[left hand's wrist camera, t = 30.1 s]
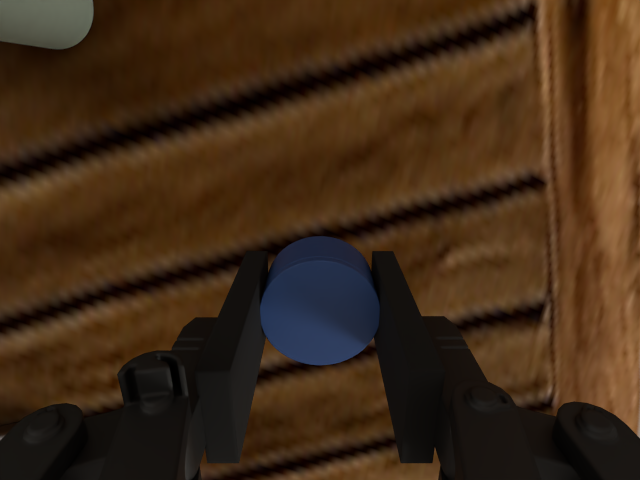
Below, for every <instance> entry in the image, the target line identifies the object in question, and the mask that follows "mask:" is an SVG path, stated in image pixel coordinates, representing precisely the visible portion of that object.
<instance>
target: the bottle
mask: <svg viewBox="0 0 640 480" xmlns="http://www.w3.org/2000/svg"><path fill="white" fill-rule="evenodd" d="M92 20H93V0H0V41H3V42H10V43H17V44H23V45H30V46H37V47H43V48H50V49H66V48H70V47H72V46H74V45H76V44H78V43H79V42H80V41H82V40H83V38H84V37H85V36H86V35H87V33H88V32H89V29H90V27H91V24H92Z"/></svg>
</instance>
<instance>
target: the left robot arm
mask: <svg viewBox="0 0 640 480" xmlns="http://www.w3.org/2000/svg"><path fill="white" fill-rule="evenodd" d="M371 273H372V277H373V280H374V284H375V288H376V291H377V295H378V299H379V303H380V314H379V326H378V329H377V332H376V333H375V335H374V340H375V345H376V349H377V354H378V359H379V364H380V368H381V373H382V378H383V382H384V387H385V392H386V396H387V401H388V406H389V410H390V415H391V420H392V424H393V429H394V434H395V438H396V443H397V448H398V452H399V457H400V462H401V463H432V462H433V455H434V448H436V452H437V455H438V458H439V461H440V464H441V466H440V472H439V478H438V480H640V438H639V437H638V436H637V435H636V434H635V433H634V432H633V431H632V430H631V429H630V428H629V427H628V426H627V425H626V424H625V423H624V422H623V421H621V420H620V419H619V418H618V417H617V416H615V415H614V414H612V413H610V412H608V411H606V410H604V409H603V408H601V407H598V406H594V405H591V404H588V403H582V402H570V403H565V404H563V405H562V406H561V407H560V408H559V409H558V412H557V415H556V416H551V415H547V414H543V413H539V412H535V411H530V410H527V409H524V408H521V407H518V406H516V405H515V403H514V401H513V400H512V398H511V397H510V395H508V394H507V393H506V392H505V391H504V390H503V389H501V388H500V387H498V386H496V385H494V384H492V383H490V382H488V381H487V379H486V377H485V376H484V374H483V372H482V370H481V369H480V367H479V365H478V363H477V362H476V360H475V358H474V356H473V354H472V353H471V351H470V349H468V346H467V344H466V342H465V340H463V337H462V335H461V333H460V332H459V330H458V328H457V326H456V325H454V324H453V323H452V322H451V321H449V320H448V319H447V318H445V317H444V316H421V314H420V312H419V310H418V307H417V305H416V303H415V300H414V298H413V296H412V294H411V291H410V289H409V287H408V285H407V282H406V280H405V278H404V275H403V273H402V271H401V269H400V266H399V264H398V262H397V259H396V257H395V255H394V253H393V251H372V269H371ZM267 277H268V255H267V251H247V252H246V254H245V257H244V259H243V261H242V263H241V266H240V268H239V270H238V273H237V275H236V277H235V279H234V282H233V284H232V286H231V288H230V291H229V293H228V295H227V298H226V300H225V302H224V304H223V307H222V309H221V311H220V313H219V316H218V318H195V319H193V320H192V321H191V322H190V323H188V324H187V325H186V326H185V327H183V329H182V331H181V333H180V334H179V336H178V338H177V341H176V342H175V343H174V345H173V347H172V351H153V352H148V353H144V354H142V355H140V356H138V357H135V358H133V359H132V360H130V361H129V362H128V363H126V364H125V365H124V366H123V367H122V368H121V370H120V371H119V373H118V374H117V375H118V379H119V383H120V388H121V392H122V396H123V400H124V407H123V408H121V409H118V410H115V411H112V412H108V413H103V414H99V415H95V416H91V417H87V418H84V417H83V413H82V410H80V409H79V408H78V407H77V406H76V405H72V404H67V403H64V404H54V405H51V406H48V407H45V408H42V409H39V410H37V411H35V412H33V413H31V414H30V415H28V416H26V417H24V418H23V419H22V420H21V421H20V422H18V423H12V424H7V425H3V426H0V480H202V479H201V472H200V466H199V465H200V462H201V459H202V456H203V453H204V450H206V457H207V463H239V461H240V456H241V451H242V447H243V442H244V437H245V433H246V428H247V423H248V418H249V414H250V409H251V404H252V400H253V395H254V390H255V386H256V381H257V376H258V372H259V367H260V362H261V358H262V353H263V348H264V344H265V339H266V335H265V333H264V331H263V329H262V326H261V317H260V303H261V299H262V295H263V291H264V288H265V284H266V280H267Z"/></svg>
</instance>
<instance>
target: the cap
mask: <svg viewBox="0 0 640 480" xmlns="http://www.w3.org/2000/svg"><path fill="white" fill-rule="evenodd" d="M379 314H380V303H379V299H378V295H377V291H376V288H375V284H374V280H373V277H372V273H371V270H370V267H369V265H368V263H367V261H366V260H365V258H364V257H363V256H362V254H361V253H360V252H359V251H358V250H357V249H355V248H354V247H353V246H351V245H350V244H348V243H346V242H344V241H342V240H339V239H336V238H332V237H325V236H316V237H308V238H304V239H301V240H298V241H296V242H294V243H292V244H290V245H289V246H287V247H286V248H285V249H283V250H282V251H281V252H280V253H279V254H278V256H277V257H276V258H275V260H274V261H273V263H272V265H271V267H270V270H269V273H268V277H267V280H266V284H265V288H264V291H263V295H262V299H261V303H260V317H261V326H262V329H263V331H264V333H265V335H266V337H267V339H268V340H269V341H270V343H271V344H272V345H273V346H274V347H275V348H276V349H277V350H278V351H280V352H281V353H282V354H284V355H285V356H287V357H289V358H291V359H293V360H296V361H299V362H302V363H306V364H312V365H328V364H334V363H339V362H342V361H344V360H347V359H349V358H351V357H353V356H355V355H356V354H358V353H359V352H360V351H362V350H363V349H364V348H365V347H366V346H367V345H368V344H369V343H370V341H371V340H372V339H373V337H374V335H375V333H376V332H377V329H378V326H379Z"/></svg>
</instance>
